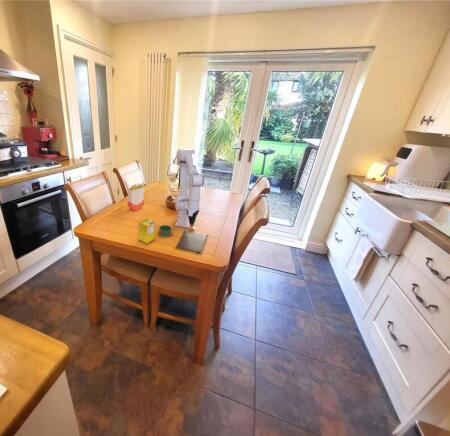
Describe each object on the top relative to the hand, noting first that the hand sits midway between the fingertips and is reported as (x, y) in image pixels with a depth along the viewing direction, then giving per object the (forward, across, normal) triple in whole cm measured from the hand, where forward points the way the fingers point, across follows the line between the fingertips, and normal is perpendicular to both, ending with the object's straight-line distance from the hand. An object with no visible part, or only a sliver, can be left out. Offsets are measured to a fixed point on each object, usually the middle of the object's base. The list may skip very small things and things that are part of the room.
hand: (191, 223), depth 120 cm
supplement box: (+11, +8, -22) cm, 26 cm away
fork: (+5, 0, 0) cm, 5 cm away
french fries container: (+10, -29, -45) cm, 54 cm away
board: (+10, 0, +1) cm, 10 cm away
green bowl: (+10, -2, -15) cm, 18 cm away
